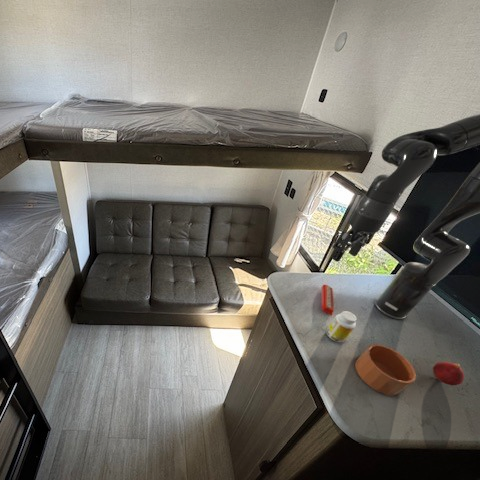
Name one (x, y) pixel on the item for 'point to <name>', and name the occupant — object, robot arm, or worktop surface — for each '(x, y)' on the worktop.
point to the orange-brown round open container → (385, 369)
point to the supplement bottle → (341, 326)
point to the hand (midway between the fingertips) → (343, 257)
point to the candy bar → (327, 299)
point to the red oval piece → (448, 373)
